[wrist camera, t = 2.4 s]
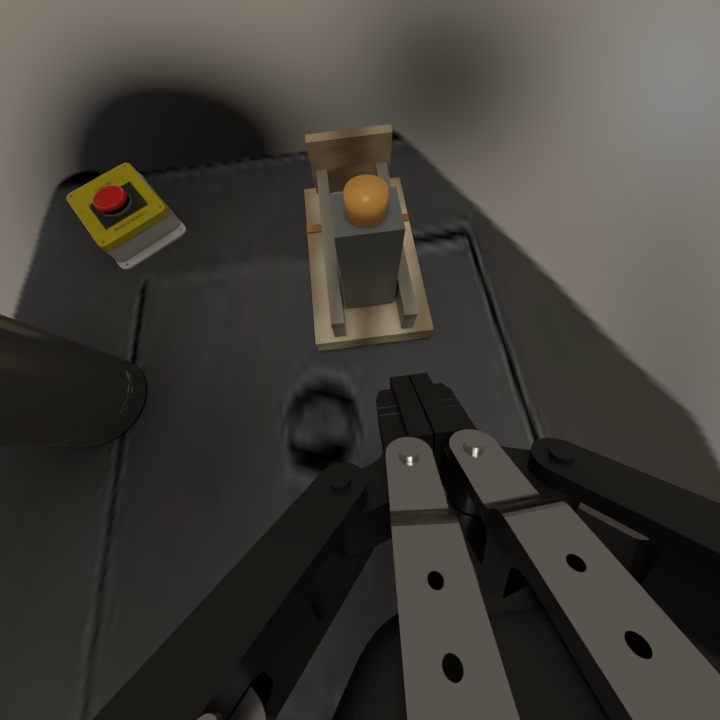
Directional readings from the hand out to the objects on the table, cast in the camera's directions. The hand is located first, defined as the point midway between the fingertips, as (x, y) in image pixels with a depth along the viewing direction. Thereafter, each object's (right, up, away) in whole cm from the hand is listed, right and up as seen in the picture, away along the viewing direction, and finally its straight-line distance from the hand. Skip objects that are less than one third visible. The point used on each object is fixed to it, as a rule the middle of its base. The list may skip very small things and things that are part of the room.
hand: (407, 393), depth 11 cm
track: (-2, +13, +21) cm, 25 cm away
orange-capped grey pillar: (-1, +9, +18) cm, 20 cm away
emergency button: (-33, +20, +26) cm, 46 cm away
